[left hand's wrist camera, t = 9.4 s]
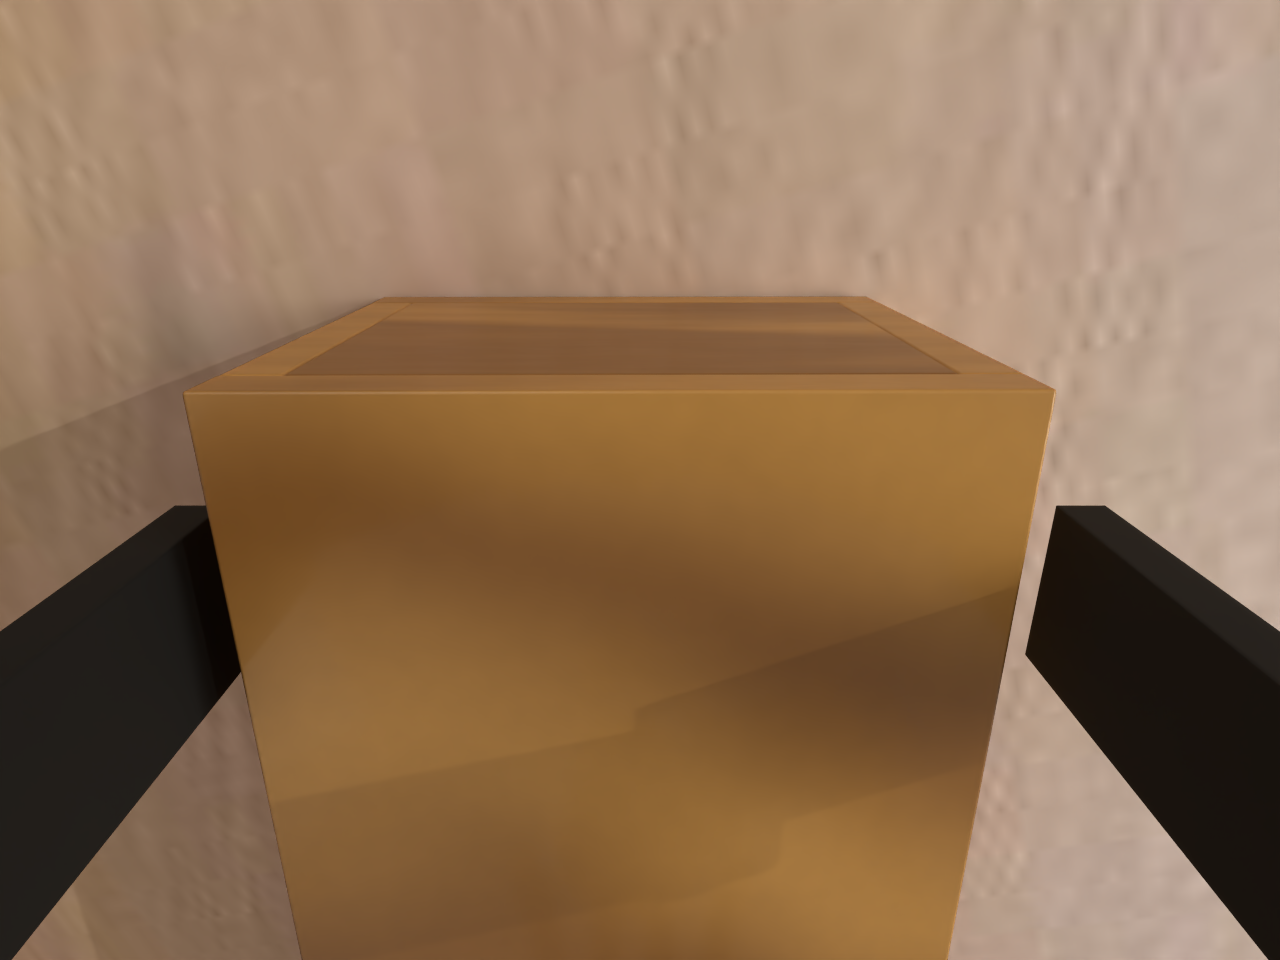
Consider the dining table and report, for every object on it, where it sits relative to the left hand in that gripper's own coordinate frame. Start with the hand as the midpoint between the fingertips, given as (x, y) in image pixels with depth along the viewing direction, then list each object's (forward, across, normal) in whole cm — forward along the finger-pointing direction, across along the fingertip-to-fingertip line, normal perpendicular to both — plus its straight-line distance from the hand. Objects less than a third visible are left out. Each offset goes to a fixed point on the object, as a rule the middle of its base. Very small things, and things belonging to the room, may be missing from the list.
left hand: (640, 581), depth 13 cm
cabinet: (+7, 0, -7) cm, 10 cm away
